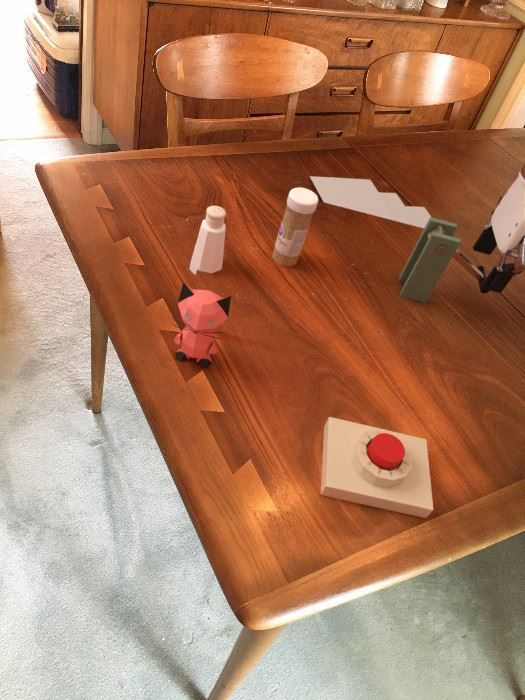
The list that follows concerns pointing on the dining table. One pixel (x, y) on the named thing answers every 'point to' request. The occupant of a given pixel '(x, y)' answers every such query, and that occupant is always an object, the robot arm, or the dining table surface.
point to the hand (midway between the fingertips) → (485, 269)
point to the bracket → (428, 260)
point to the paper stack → (368, 200)
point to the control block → (374, 470)
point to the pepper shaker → (210, 242)
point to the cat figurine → (200, 323)
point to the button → (386, 451)
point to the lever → (465, 262)
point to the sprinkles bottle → (294, 226)
